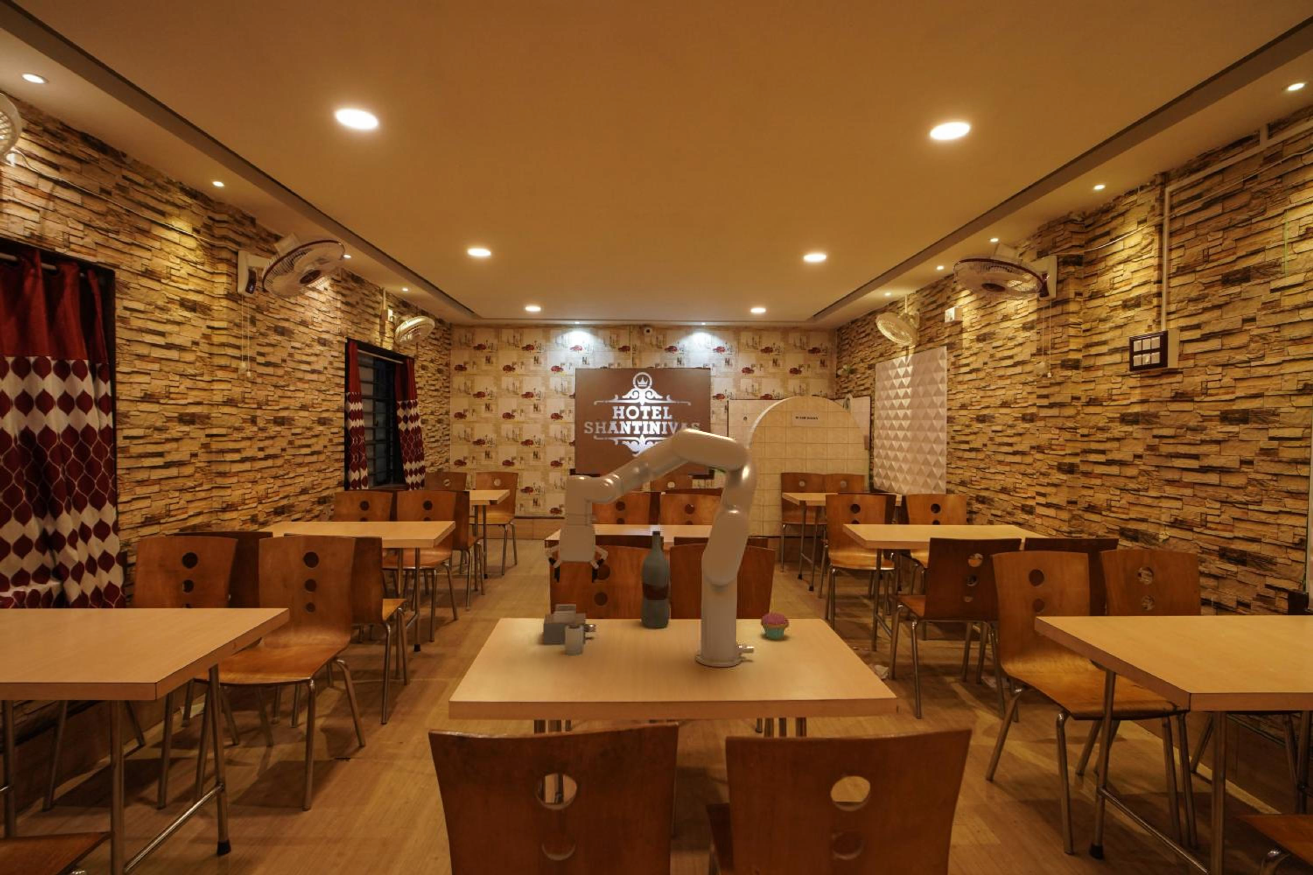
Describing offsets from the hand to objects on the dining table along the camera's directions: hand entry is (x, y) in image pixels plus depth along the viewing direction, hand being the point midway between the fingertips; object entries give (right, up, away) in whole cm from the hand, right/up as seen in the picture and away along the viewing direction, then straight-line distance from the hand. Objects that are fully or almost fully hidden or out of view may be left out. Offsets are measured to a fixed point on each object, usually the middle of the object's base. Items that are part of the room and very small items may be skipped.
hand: (575, 581), depth 174 cm
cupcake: (+58, -21, +16) cm, 64 cm away
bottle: (+22, -20, +27) cm, 40 cm away
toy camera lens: (-1, -20, 0) cm, 20 cm away
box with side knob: (-3, -20, +13) cm, 24 cm away
